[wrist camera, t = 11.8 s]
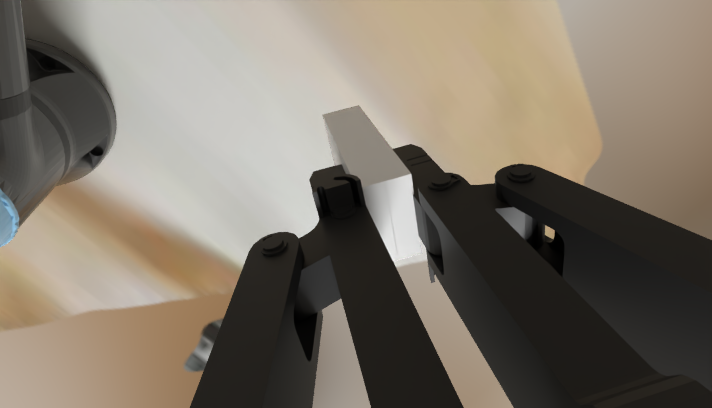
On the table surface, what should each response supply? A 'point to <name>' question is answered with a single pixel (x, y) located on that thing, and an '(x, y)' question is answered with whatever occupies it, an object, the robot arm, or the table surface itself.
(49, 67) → the robot arm
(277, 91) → the table surface
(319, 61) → the table surface
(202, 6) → the table surface
